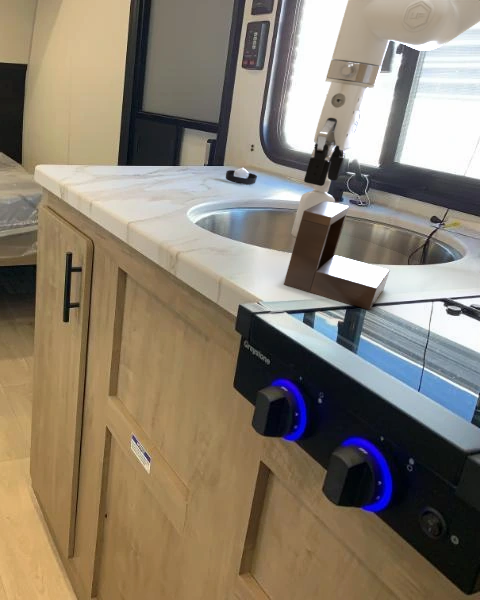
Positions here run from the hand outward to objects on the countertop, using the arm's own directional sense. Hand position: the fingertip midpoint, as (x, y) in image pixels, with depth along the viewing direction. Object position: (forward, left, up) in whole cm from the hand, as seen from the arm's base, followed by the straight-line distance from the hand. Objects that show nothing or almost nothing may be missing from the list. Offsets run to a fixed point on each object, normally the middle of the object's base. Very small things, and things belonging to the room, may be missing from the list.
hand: (320, 181), depth 102 cm
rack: (-10, +24, -10) cm, 28 cm away
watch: (+28, -42, -10) cm, 51 cm away
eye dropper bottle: (0, 0, -10) cm, 10 cm away
